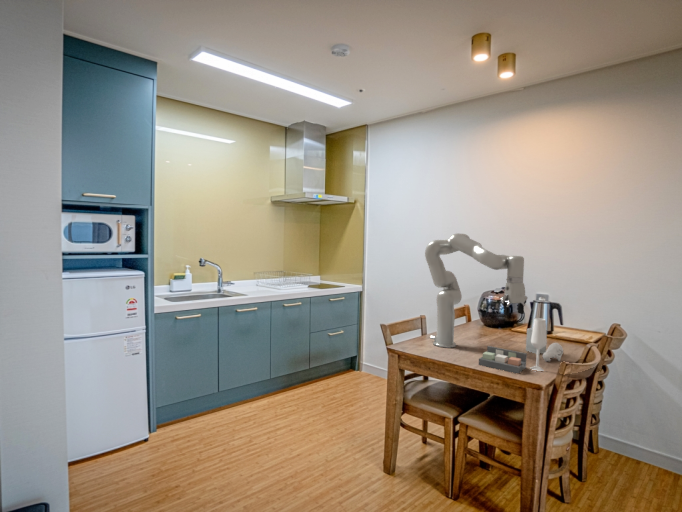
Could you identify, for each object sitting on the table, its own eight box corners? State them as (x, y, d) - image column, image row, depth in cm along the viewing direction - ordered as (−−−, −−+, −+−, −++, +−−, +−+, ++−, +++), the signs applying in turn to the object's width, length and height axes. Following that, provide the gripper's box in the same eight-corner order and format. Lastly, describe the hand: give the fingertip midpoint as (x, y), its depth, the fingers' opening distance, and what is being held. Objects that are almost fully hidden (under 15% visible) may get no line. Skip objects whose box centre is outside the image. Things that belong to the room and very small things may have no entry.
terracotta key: (507, 364, 186) (508, 358, 186) (511, 362, 190) (511, 356, 190) (518, 366, 183) (518, 360, 183) (521, 364, 187) (521, 358, 187)
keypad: (478, 364, 193) (479, 350, 193) (487, 359, 202) (488, 345, 202) (518, 374, 181) (519, 358, 181) (525, 367, 191) (526, 353, 190)
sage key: (482, 358, 194) (482, 353, 194) (485, 356, 197) (485, 351, 197) (491, 360, 191) (491, 355, 191) (494, 358, 195) (495, 353, 194)
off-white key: (494, 361, 190) (495, 356, 190) (498, 359, 194) (498, 354, 194) (504, 363, 187) (504, 358, 187) (507, 361, 191) (508, 356, 191)
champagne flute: (526, 367, 192) (529, 317, 191) (540, 367, 192) (542, 317, 191) (534, 371, 185) (536, 320, 184) (548, 372, 185) (551, 320, 184)
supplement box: (537, 354, 214) (538, 331, 214) (525, 350, 221) (526, 328, 220) (546, 353, 218) (547, 330, 217) (534, 349, 224) (535, 327, 224)
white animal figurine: (564, 343, 204) (549, 348, 198) (564, 360, 205) (550, 365, 199) (553, 340, 210) (538, 345, 204) (553, 356, 210) (538, 361, 205)
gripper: (508, 281, 196) (506, 316, 196) (533, 280, 203) (532, 314, 203) (496, 279, 203) (495, 313, 203) (521, 279, 210) (520, 311, 210)
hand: (513, 314), depth 203 cm, fingers open, 9 cm apart
